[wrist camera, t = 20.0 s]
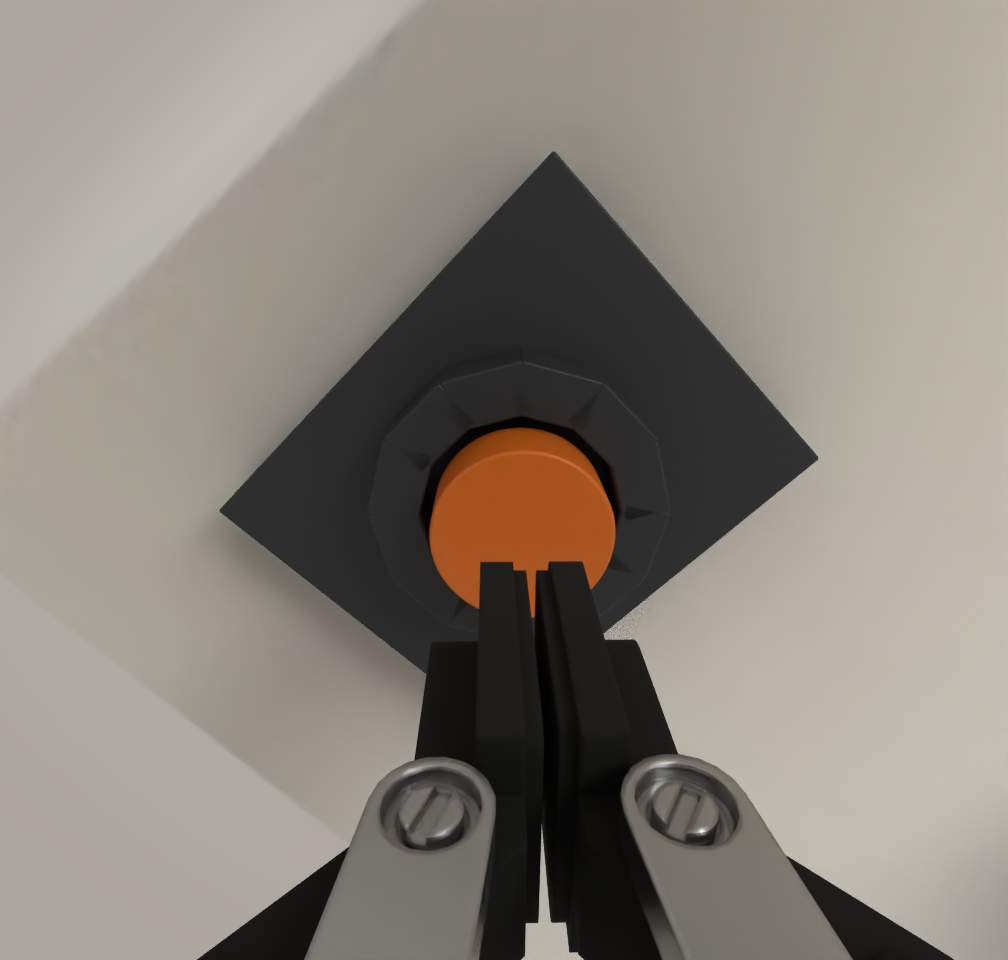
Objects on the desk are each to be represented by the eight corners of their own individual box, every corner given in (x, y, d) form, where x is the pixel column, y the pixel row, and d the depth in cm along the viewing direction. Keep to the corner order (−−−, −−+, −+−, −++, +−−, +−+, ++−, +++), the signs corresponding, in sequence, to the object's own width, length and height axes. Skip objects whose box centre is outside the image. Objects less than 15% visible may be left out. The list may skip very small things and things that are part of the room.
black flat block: (247, 481, 19) (187, 542, 15) (546, 159, 16) (562, 139, 12) (490, 678, 22) (490, 772, 18) (784, 433, 19) (857, 484, 15)
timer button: (400, 507, 16) (389, 540, 14) (521, 390, 15) (524, 410, 13) (517, 609, 17) (520, 650, 15) (637, 506, 16) (654, 538, 14)
